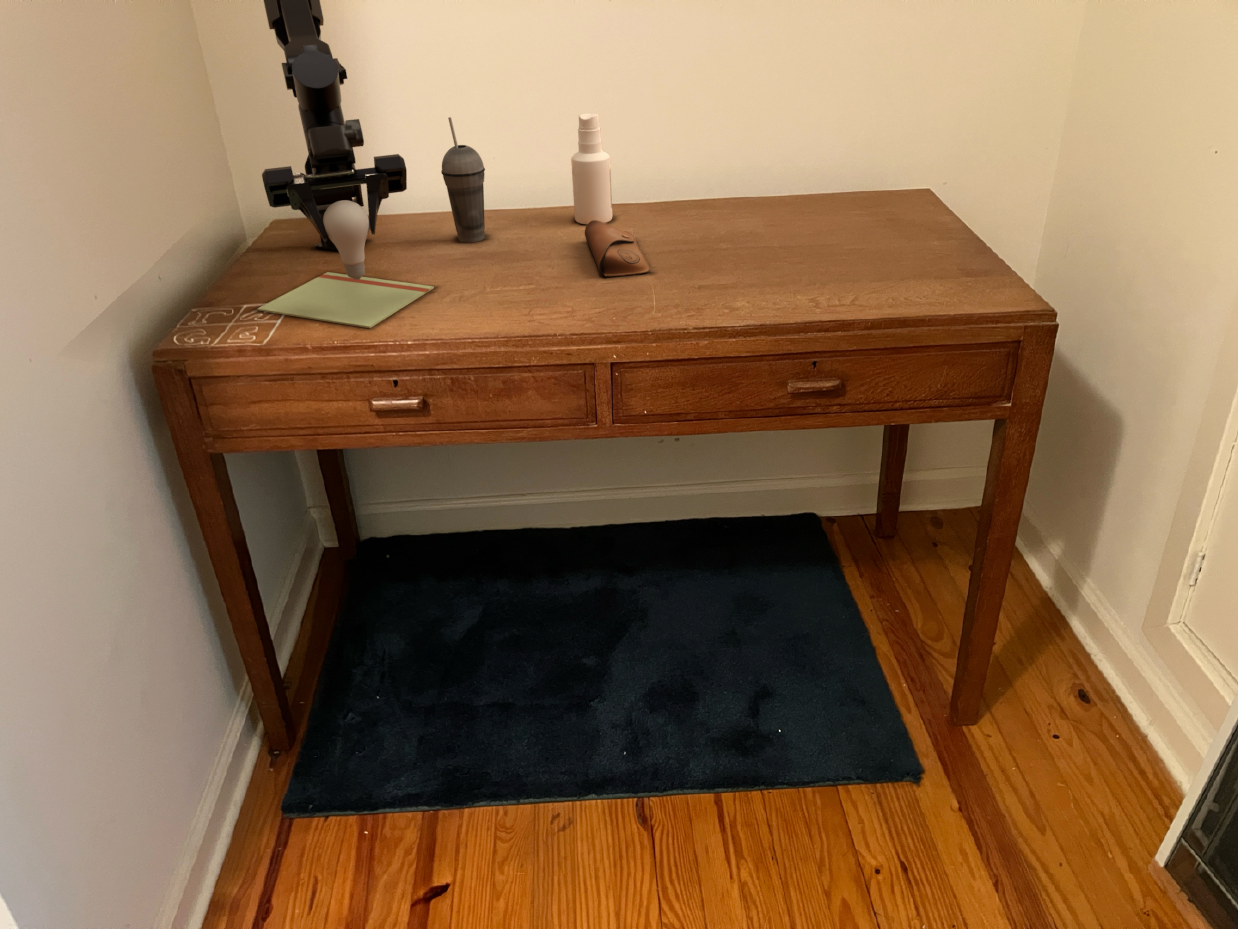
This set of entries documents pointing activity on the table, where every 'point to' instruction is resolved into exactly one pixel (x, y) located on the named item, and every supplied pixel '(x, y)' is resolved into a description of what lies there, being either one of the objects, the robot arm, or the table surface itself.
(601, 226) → the sunglasses case
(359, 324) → the cloth
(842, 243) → the table surface
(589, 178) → the spray bottle
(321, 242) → the robot arm
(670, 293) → the table surface
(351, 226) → the lightbulb
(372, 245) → the table surface
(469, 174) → the beverage cup
